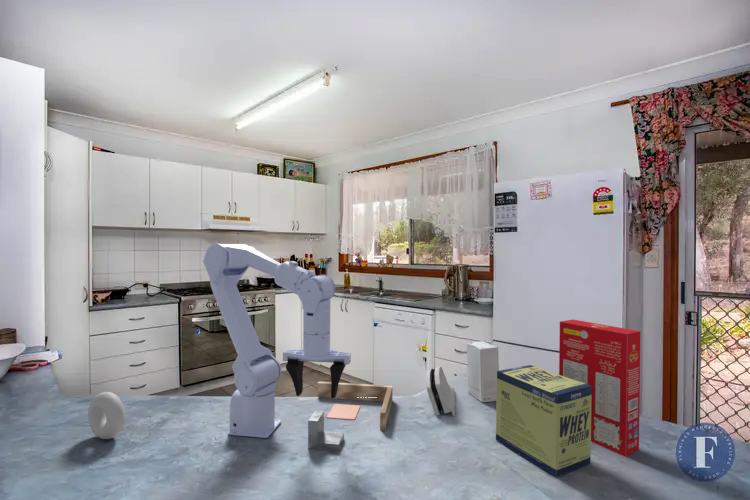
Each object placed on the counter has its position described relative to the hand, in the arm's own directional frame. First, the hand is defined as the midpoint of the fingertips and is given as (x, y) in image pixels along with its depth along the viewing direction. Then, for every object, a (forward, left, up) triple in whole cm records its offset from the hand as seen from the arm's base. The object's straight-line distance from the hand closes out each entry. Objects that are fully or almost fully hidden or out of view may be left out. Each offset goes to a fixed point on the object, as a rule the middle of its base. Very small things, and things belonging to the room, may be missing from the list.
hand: (316, 395), depth 82 cm
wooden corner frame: (+3, +16, -10) cm, 19 cm away
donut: (-46, -5, -10) cm, 47 cm away
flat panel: (+2, +16, -10) cm, 19 cm away
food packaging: (+61, +12, -10) cm, 63 cm away
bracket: (+2, 0, -10) cm, 11 cm away
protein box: (+47, +4, -11) cm, 48 cm away
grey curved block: (+27, +26, -11) cm, 39 cm away
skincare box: (+39, +32, -10) cm, 52 cm away
